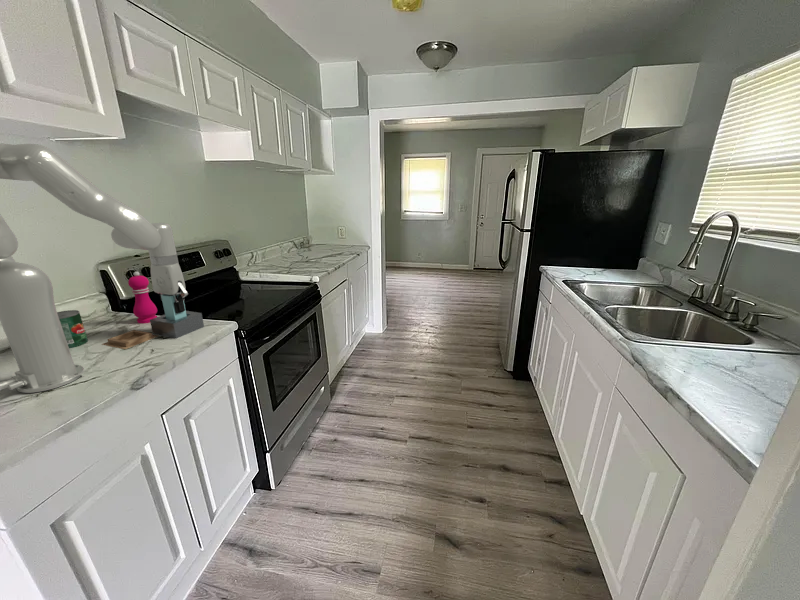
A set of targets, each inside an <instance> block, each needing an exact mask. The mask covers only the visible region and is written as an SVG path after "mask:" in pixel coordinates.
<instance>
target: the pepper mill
mask: <svg viewBox="0 0 800 600" xmlns="http://www.w3.org/2000/svg"><path fill="white" fill-rule="evenodd" d="M127 283H128V286H129V287H130V288H131V291H132V294H133V295H134V298H135V299H134V301H135V302H134V306H133V310H132V311H133V315H134V316H135V317H136V318H137V319H136V321H137V324H143V325H144V324H151V323H150V319H153V318H156V317H158V316H157V315H156V314H157V313H158V308H157V306H156V304H155V303H154V302H153V301H152V300H151V298H150V296H149V291H150V290H149V289H150V288H149V287H148V286H149V285H150V284H149V283H150V281H149V279H148V277H146V276H144V275H140V272H139V271H134V272H133V276H131V277H130V278H129V279H128V282H127Z"/></svg>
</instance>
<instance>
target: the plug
mask: <svg viewBox="0 0 800 600" xmlns="http://www.w3.org/2000/svg"><path fill="white" fill-rule="evenodd" d="M177 293H178V292H177ZM178 296H179V294H178V295H177V297H178ZM161 298H162V300H161V301H162V306H163V310H164V315H165V316H166V319H168V320H174V321H175V320H178V319H180V318H183V317H186V316H187V315H186V311H187V310H186V309H185V311H184V312H181V313H176V312H175V307H174V302H175V301H174V298H173V296H172V295H167V294H164V295H161V297H160V299H161ZM183 302H184V307H185V308H186V304H185V300H184V301H183Z"/></svg>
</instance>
